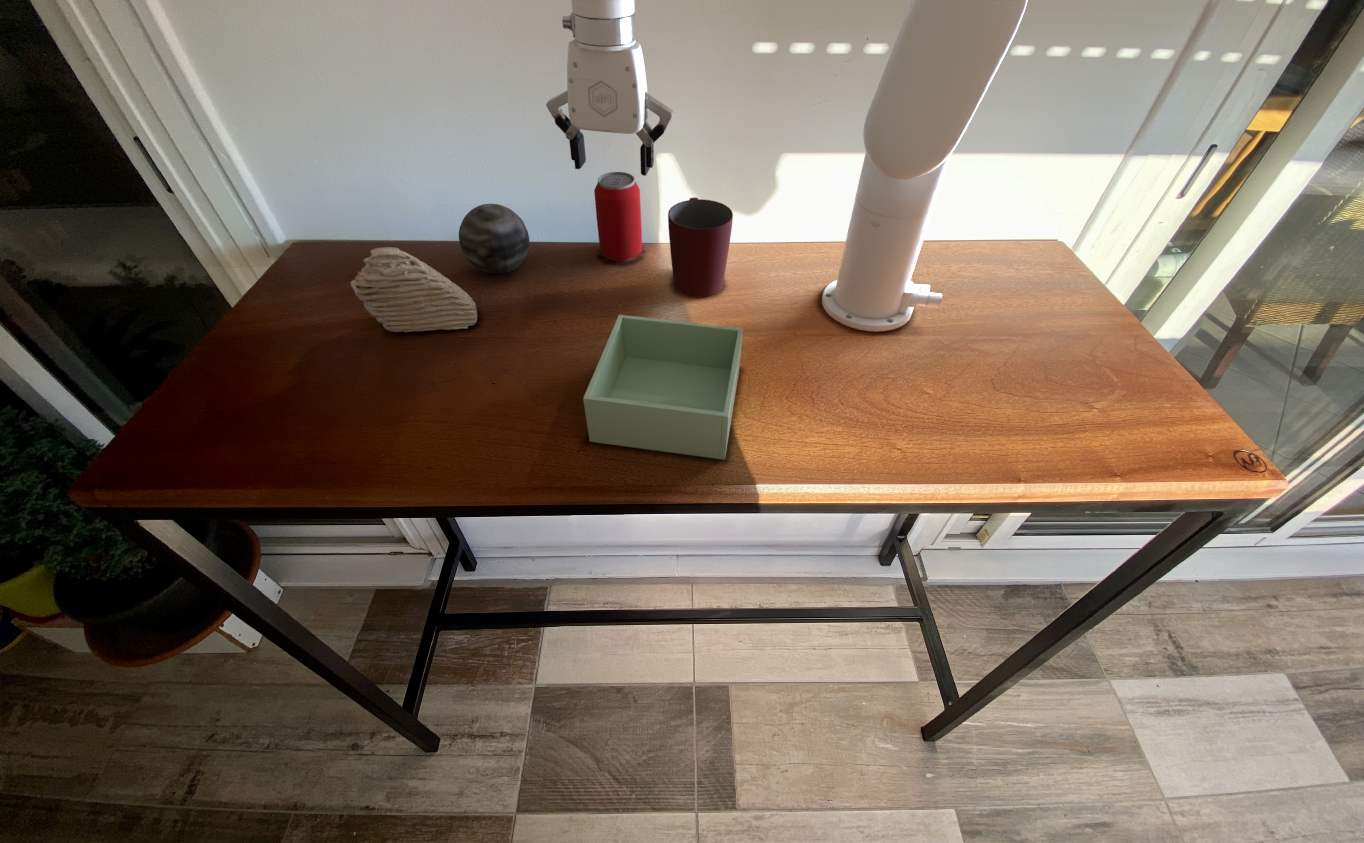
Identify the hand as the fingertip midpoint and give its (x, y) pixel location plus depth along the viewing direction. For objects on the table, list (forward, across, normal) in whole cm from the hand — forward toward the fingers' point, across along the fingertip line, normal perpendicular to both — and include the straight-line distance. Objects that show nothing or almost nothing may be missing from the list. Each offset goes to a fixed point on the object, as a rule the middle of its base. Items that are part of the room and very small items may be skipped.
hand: (612, 168), depth 86 cm
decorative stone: (+14, -16, -8) cm, 23 cm away
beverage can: (+14, +1, 0) cm, 14 cm away
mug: (+13, +14, -5) cm, 20 cm away
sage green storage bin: (+13, +15, -33) cm, 38 cm away
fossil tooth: (+14, -21, -23) cm, 34 cm away
